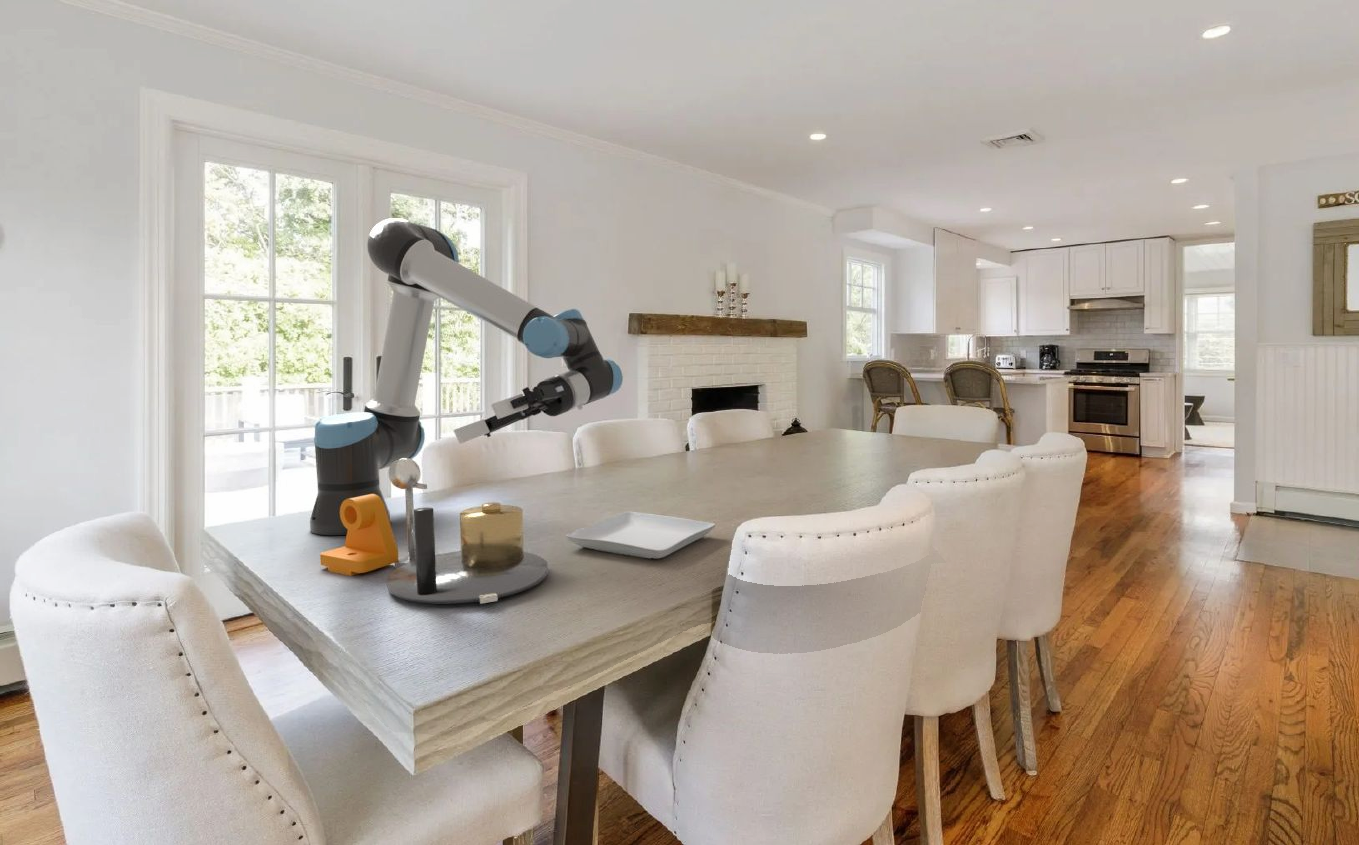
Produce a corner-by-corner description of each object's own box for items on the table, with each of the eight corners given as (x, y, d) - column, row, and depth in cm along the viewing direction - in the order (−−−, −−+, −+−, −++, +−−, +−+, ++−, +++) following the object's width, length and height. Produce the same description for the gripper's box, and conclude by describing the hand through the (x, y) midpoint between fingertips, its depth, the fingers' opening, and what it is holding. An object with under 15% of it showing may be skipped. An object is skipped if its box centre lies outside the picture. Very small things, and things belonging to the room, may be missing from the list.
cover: (450, 566, 111) (448, 510, 110) (476, 549, 121) (475, 497, 120) (510, 568, 109) (509, 511, 109) (532, 551, 119) (530, 498, 118)
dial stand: (390, 569, 116) (385, 459, 114) (404, 561, 120) (399, 455, 118) (428, 570, 115) (424, 459, 113) (441, 562, 119) (436, 456, 117)
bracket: (318, 569, 116) (314, 498, 115) (355, 558, 122) (352, 491, 121) (361, 578, 111) (358, 504, 110) (398, 566, 117) (395, 496, 116)
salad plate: (663, 568, 116) (662, 548, 116) (562, 551, 127) (562, 533, 126) (718, 539, 135) (718, 521, 134) (626, 526, 145) (626, 510, 145)
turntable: (354, 600, 99) (349, 510, 97) (434, 552, 122) (431, 480, 121) (516, 606, 95) (513, 514, 94) (566, 556, 119) (564, 482, 118)
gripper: (608, 388, 130) (522, 420, 114) (535, 430, 146) (451, 463, 130) (590, 352, 130) (503, 379, 114) (520, 398, 146) (434, 428, 130)
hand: (475, 424), depth 122 cm, fingers open, 13 cm apart
